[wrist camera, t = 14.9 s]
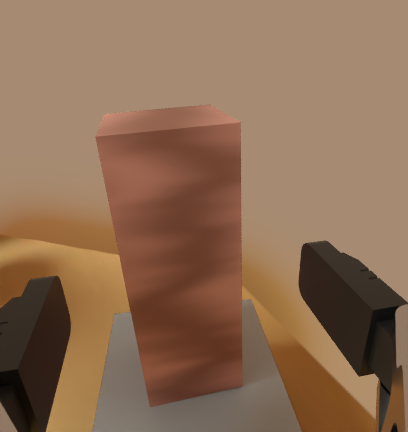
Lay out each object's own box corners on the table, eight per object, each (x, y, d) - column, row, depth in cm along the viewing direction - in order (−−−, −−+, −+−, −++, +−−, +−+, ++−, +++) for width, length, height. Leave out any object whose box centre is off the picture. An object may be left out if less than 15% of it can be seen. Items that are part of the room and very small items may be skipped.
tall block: (149, 407, 17) (95, 136, 11) (145, 335, 22) (104, 114, 15) (242, 386, 18) (240, 122, 12) (219, 321, 22) (209, 104, 16)
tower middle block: (100, 514, 16) (85, 466, 15) (122, 354, 25) (114, 313, 24) (296, 483, 17) (303, 434, 16) (249, 339, 26) (251, 299, 25)
